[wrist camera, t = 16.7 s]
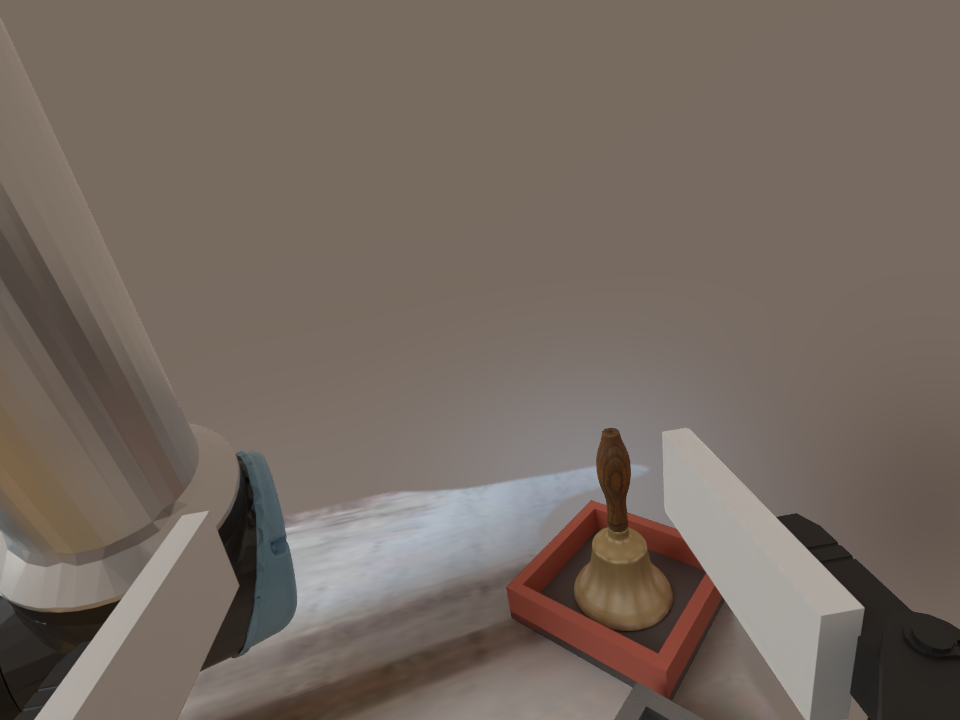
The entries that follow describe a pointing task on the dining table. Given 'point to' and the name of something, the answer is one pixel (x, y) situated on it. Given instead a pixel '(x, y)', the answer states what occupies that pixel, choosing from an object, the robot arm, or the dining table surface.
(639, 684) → the grey square open box
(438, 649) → the dining table surface
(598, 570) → the hand bell
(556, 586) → the tray
